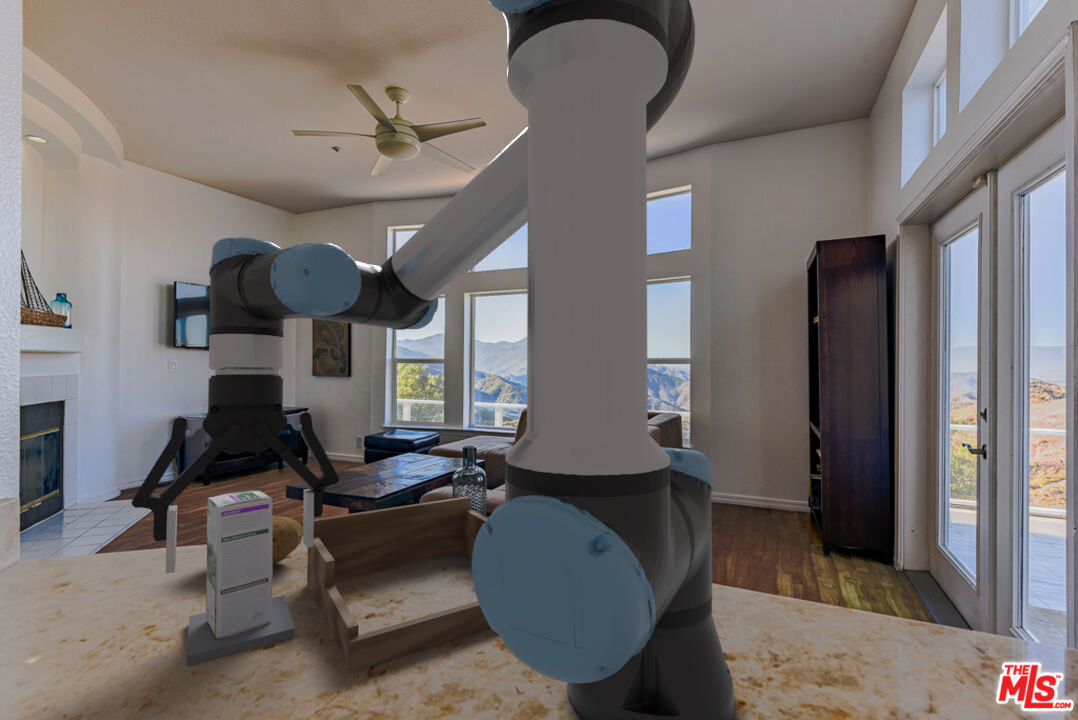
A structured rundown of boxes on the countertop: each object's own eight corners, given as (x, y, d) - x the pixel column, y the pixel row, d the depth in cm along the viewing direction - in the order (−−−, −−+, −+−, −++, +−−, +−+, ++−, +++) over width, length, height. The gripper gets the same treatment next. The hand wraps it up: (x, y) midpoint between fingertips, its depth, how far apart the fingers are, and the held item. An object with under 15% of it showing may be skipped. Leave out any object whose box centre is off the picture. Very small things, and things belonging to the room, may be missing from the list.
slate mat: (295, 636, 55) (295, 628, 55) (186, 666, 50) (186, 656, 50) (283, 602, 63) (283, 595, 63) (189, 624, 58) (189, 616, 58)
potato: (281, 580, 70) (283, 524, 71) (187, 578, 71) (189, 523, 71) (315, 556, 80) (316, 506, 80) (232, 554, 81) (233, 505, 81)
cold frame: (553, 607, 63) (553, 536, 63) (350, 673, 49) (351, 581, 49) (467, 549, 83) (467, 496, 84) (307, 584, 69) (308, 520, 69)
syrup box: (273, 622, 56) (276, 496, 57) (213, 641, 52) (216, 505, 53) (259, 605, 61) (262, 487, 61) (202, 622, 56) (206, 495, 57)
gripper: (349, 373, 68) (348, 528, 67) (112, 373, 54) (107, 569, 53) (364, 372, 61) (363, 543, 61) (100, 372, 47) (94, 594, 47)
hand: (244, 556), depth 57 cm, fingers open, 13 cm apart
